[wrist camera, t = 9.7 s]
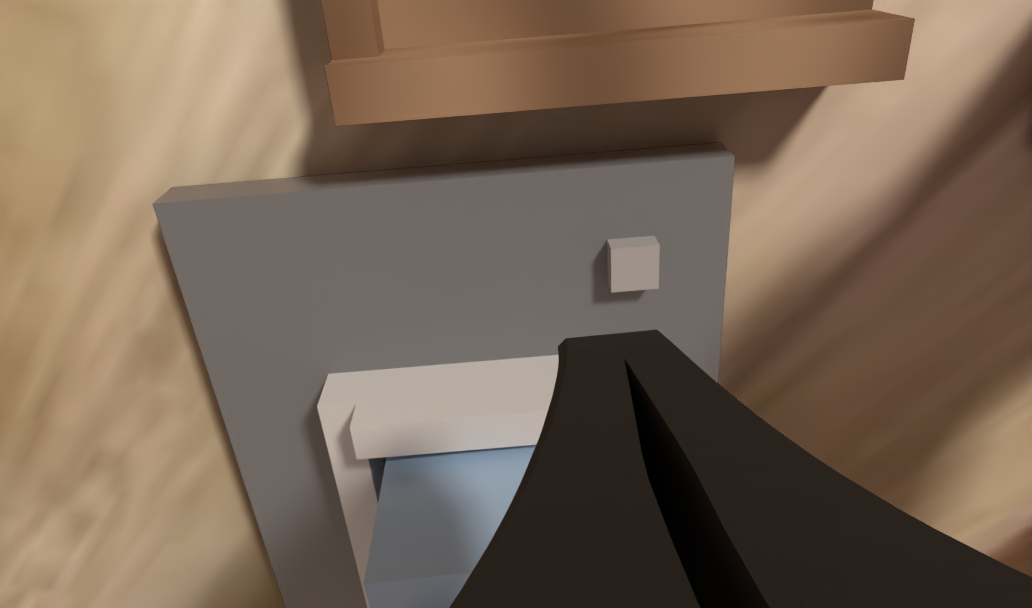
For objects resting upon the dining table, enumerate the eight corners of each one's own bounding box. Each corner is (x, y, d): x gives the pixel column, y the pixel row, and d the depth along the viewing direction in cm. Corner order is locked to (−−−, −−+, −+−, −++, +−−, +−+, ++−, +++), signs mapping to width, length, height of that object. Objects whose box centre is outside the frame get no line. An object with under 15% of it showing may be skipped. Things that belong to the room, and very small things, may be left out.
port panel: (720, 142, 18) (772, 189, 15) (687, 652, 28) (714, 750, 24) (171, 187, 18) (102, 244, 15) (326, 682, 27) (305, 785, 24)
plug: (534, 394, 20) (556, 594, 14) (554, 546, 23) (579, 767, 17) (394, 411, 20) (357, 617, 14) (431, 561, 23) (413, 785, 17)
